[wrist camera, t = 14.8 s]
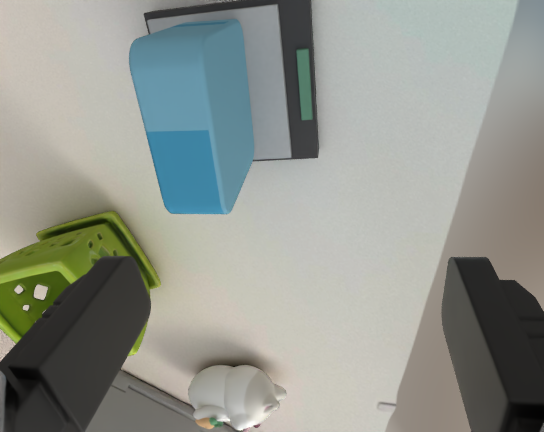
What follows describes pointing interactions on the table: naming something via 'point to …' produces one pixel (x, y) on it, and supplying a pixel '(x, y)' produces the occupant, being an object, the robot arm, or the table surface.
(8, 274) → the flower pot
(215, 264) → the table surface
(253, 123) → the scale
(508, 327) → the robot arm
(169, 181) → the blue rounded block
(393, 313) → the table surface
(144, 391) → the laptop
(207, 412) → the cat figurine
